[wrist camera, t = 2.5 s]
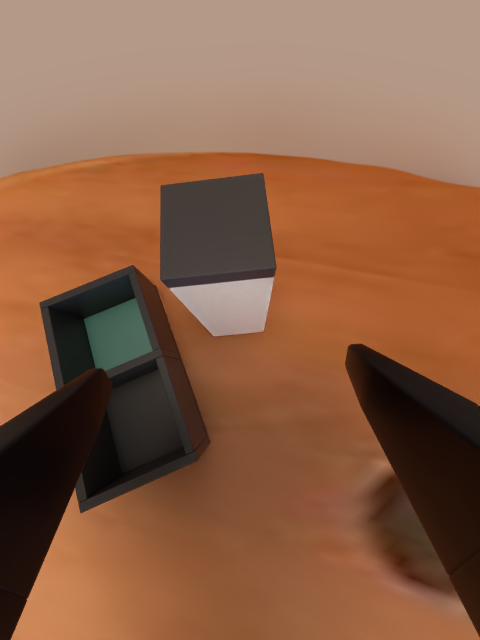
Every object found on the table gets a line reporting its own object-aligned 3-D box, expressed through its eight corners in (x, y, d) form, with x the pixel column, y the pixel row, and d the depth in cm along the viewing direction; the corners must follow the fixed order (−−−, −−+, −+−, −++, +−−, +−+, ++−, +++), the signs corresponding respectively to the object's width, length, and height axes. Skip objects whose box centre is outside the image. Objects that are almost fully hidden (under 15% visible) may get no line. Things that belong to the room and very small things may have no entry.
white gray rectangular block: (264, 331, 21) (278, 267, 9) (212, 336, 21) (157, 280, 9) (259, 283, 22) (264, 168, 10) (209, 288, 22) (158, 181, 10)
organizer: (210, 442, 19) (197, 461, 15) (120, 482, 19) (79, 514, 14) (156, 286, 23) (132, 264, 18) (80, 317, 22) (38, 302, 18)
